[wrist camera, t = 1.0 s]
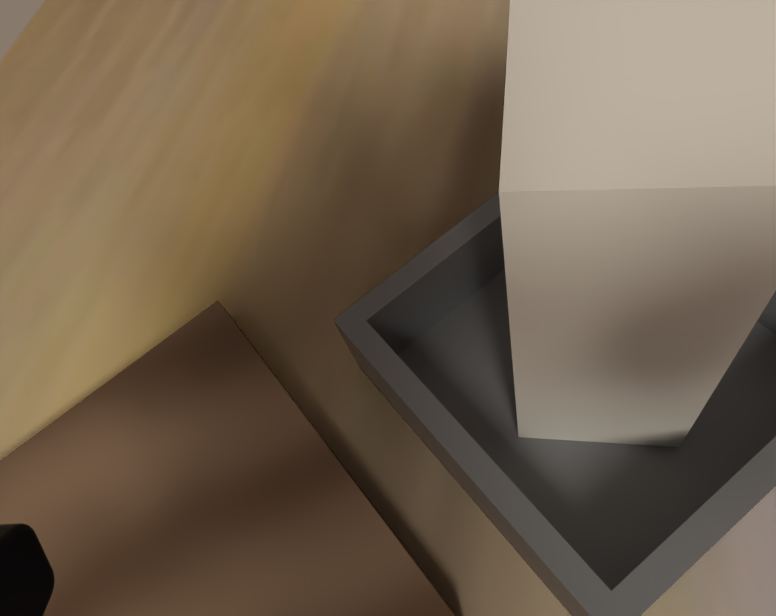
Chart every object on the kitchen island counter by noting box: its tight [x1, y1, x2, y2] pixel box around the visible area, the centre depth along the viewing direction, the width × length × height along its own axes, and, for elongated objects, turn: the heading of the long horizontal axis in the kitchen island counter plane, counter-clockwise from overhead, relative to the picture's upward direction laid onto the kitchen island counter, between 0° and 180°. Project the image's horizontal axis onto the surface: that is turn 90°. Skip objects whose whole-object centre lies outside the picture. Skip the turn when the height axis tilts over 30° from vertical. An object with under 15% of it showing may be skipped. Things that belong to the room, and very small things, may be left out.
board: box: [0, 301, 456, 616], centre depth 22 cm, size 15×13×1 cm
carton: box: [499, 0, 776, 447], centre depth 17 cm, size 5×5×13 cm
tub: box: [333, 192, 776, 616], centre depth 21 cm, size 12×12×4 cm
